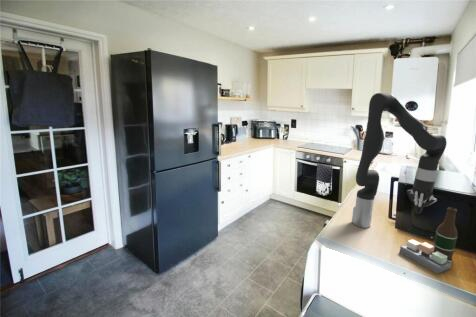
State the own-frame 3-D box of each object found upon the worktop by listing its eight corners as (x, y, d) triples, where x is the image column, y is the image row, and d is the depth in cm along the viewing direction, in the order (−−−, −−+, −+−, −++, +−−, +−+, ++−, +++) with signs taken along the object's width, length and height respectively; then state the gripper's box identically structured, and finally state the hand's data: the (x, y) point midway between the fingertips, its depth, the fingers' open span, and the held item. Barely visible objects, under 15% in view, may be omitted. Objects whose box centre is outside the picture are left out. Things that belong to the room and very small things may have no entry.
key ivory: (406, 246, 124) (407, 241, 124) (411, 244, 126) (412, 239, 125) (414, 250, 121) (416, 245, 120) (420, 249, 122) (421, 243, 122)
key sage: (430, 259, 115) (432, 253, 114) (436, 257, 116) (437, 251, 116) (440, 264, 111) (442, 258, 110) (446, 262, 113) (447, 256, 112)
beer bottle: (443, 249, 127) (453, 204, 122) (456, 259, 120) (468, 212, 114) (427, 249, 127) (437, 204, 121) (440, 259, 119) (451, 212, 114)
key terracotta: (418, 249, 119) (420, 243, 118) (424, 247, 121) (425, 241, 120) (428, 254, 116) (429, 248, 115) (433, 252, 117) (434, 246, 117)
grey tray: (399, 252, 125) (401, 242, 124) (411, 247, 128) (412, 238, 127) (438, 273, 110) (440, 263, 109) (450, 268, 113) (452, 258, 112)
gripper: (405, 174, 120) (398, 208, 125) (436, 183, 109) (427, 220, 113) (415, 172, 123) (408, 205, 128) (446, 181, 112) (437, 217, 116)
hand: (417, 212), depth 120 cm, fingers closed
